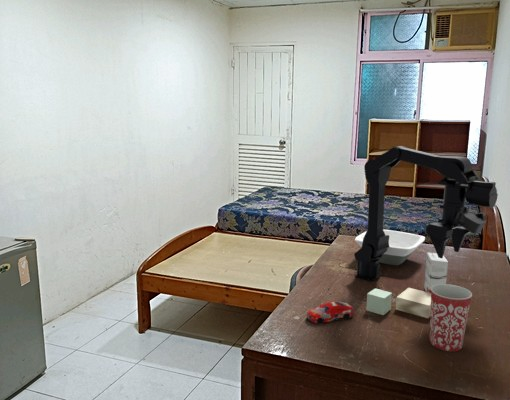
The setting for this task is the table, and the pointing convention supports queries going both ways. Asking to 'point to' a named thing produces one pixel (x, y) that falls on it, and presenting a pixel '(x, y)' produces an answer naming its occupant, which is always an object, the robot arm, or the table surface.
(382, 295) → the cube
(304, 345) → the table surface
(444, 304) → the mug
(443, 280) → the ink box
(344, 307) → the race car
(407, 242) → the bowl
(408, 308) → the slab
